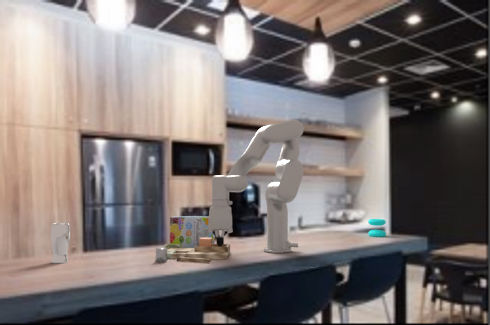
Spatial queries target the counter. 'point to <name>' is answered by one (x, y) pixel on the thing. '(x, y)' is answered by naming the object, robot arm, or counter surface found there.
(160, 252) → the can
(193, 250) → the wooden tray
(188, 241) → the snack box
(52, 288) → the counter surface
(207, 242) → the cube
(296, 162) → the robot arm
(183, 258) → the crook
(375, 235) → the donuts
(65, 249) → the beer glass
